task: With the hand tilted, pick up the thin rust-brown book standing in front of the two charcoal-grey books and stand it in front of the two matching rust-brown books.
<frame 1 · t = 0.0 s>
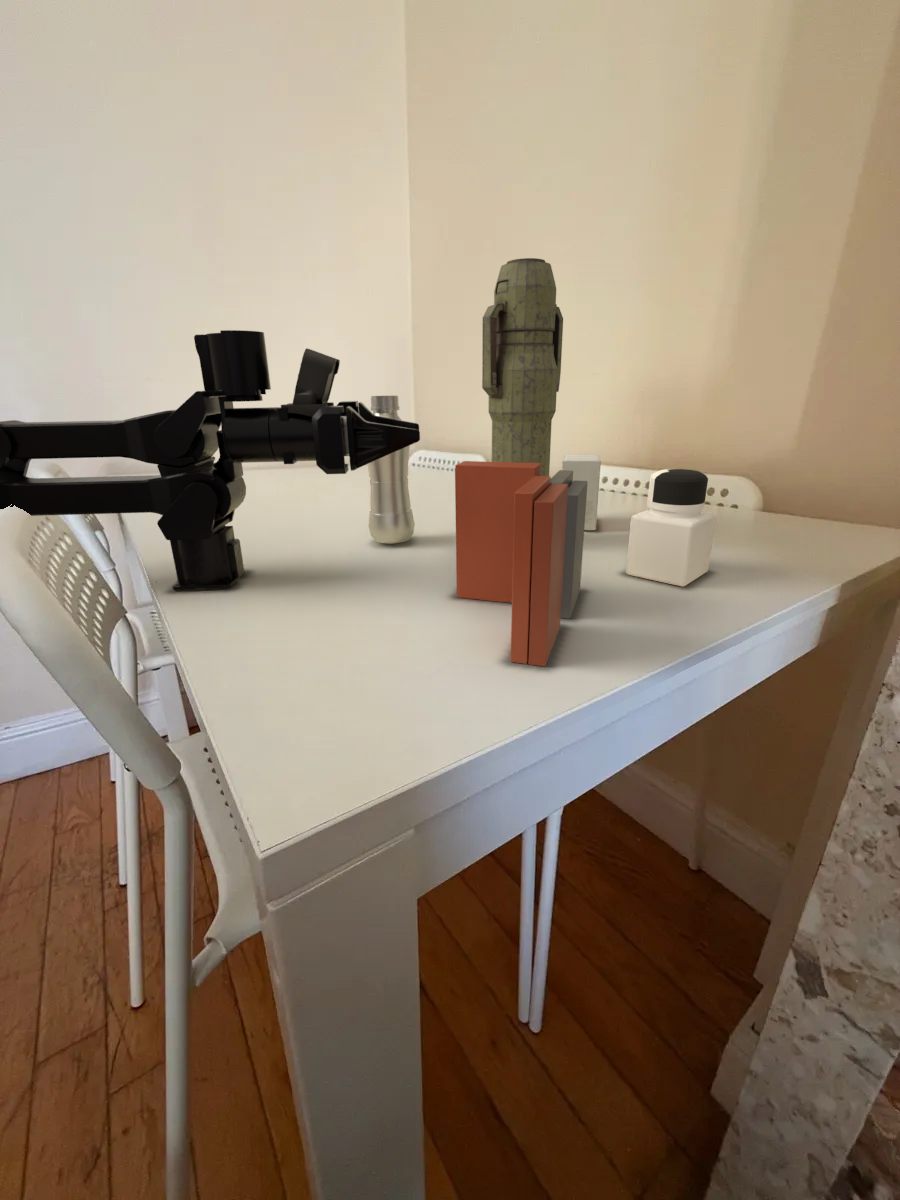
hand: (419, 431, 63), 17 cm above the table, tool horizontal, fingers open, 9 cm apart
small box: (576, 526, 90), on the table
olive green military canister: (517, 543, 82), on the table
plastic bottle: (392, 543, 83), on the table
grey books: (561, 603, 59), on the table
medicine bottle: (666, 575, 67), on the table
rust book: (496, 596, 61), on the table
rust books: (536, 644, 50), on the table
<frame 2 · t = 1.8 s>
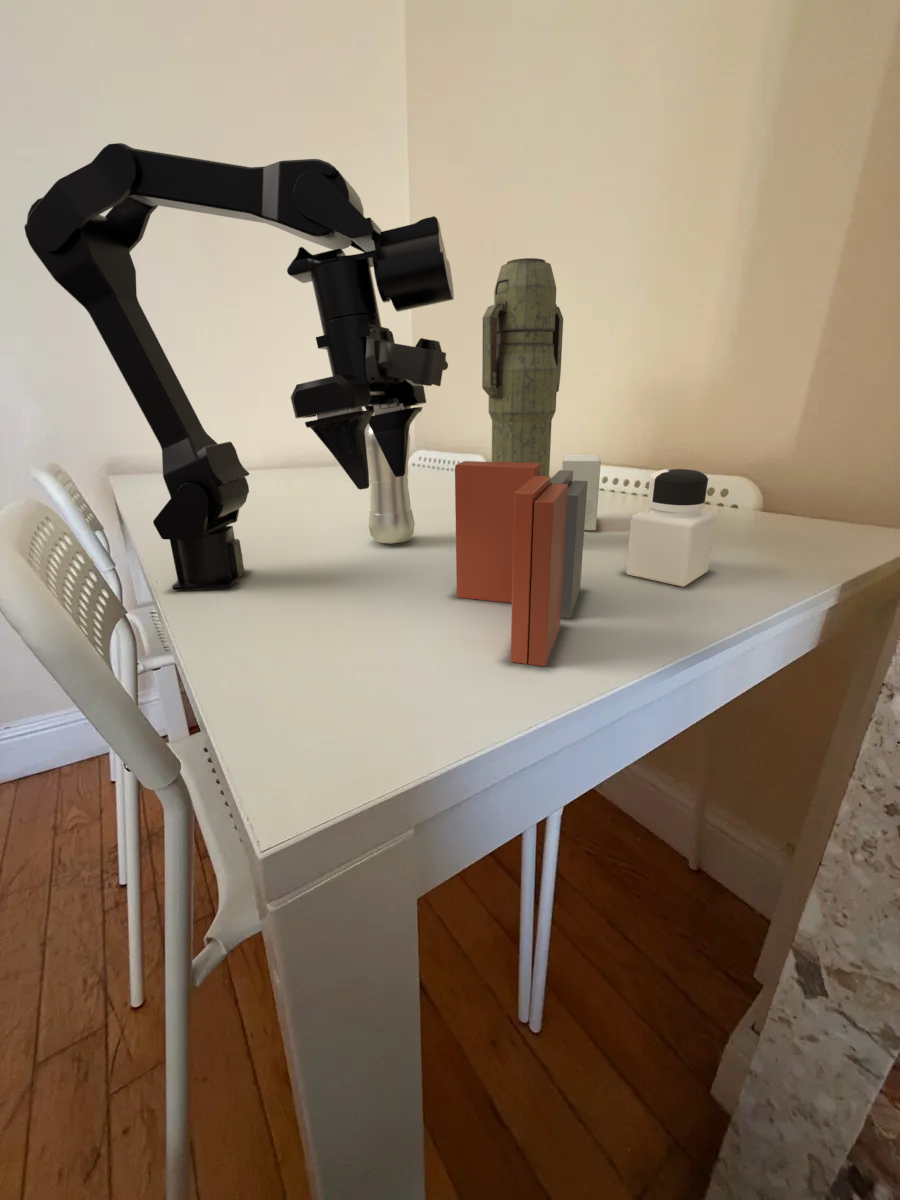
hand: (383, 482, 60), 12 cm above the table, tool pointing down, fingers open, 9 cm apart
nothing on the table moved.
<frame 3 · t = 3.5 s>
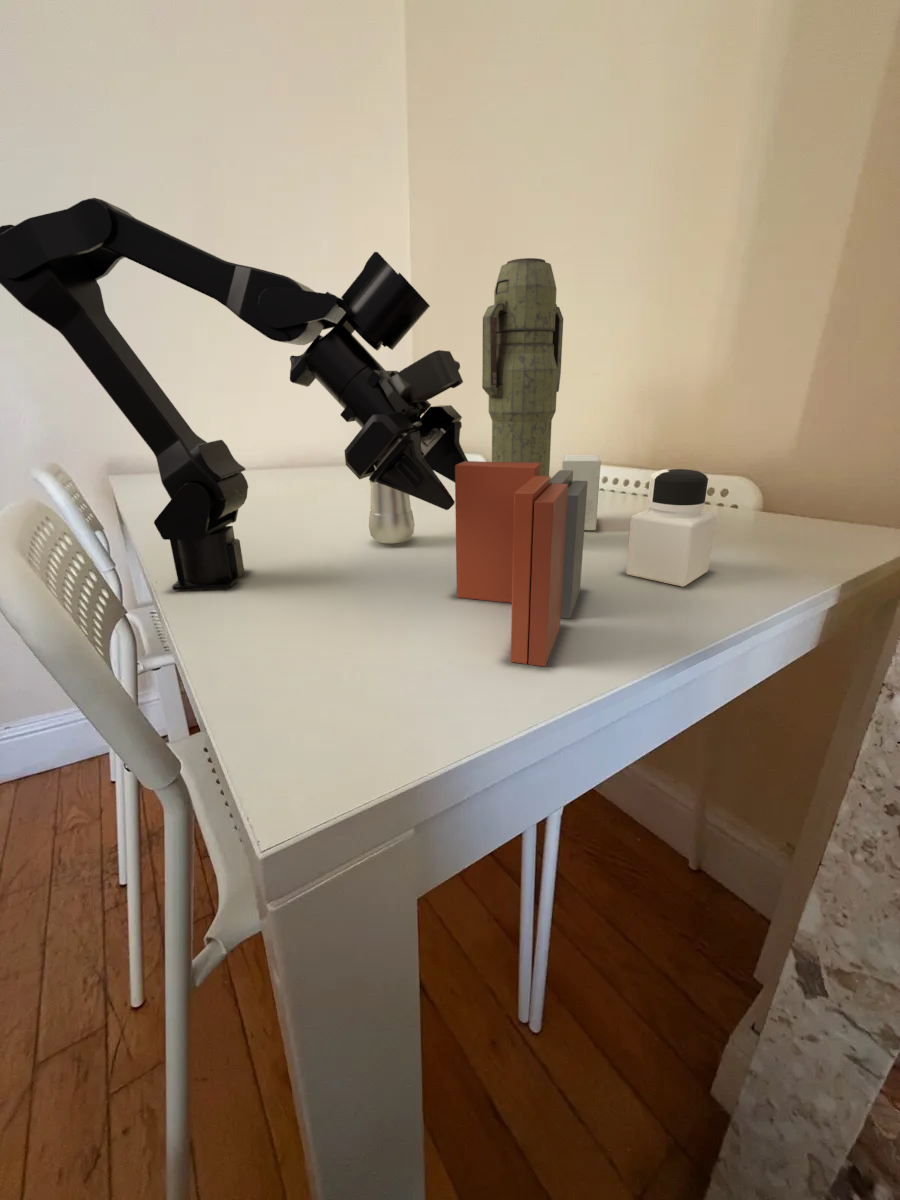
hand: (465, 497, 58), 10 cm above the table, tool tilted 45°, fingers open, 9 cm apart
nothing on the table moved.
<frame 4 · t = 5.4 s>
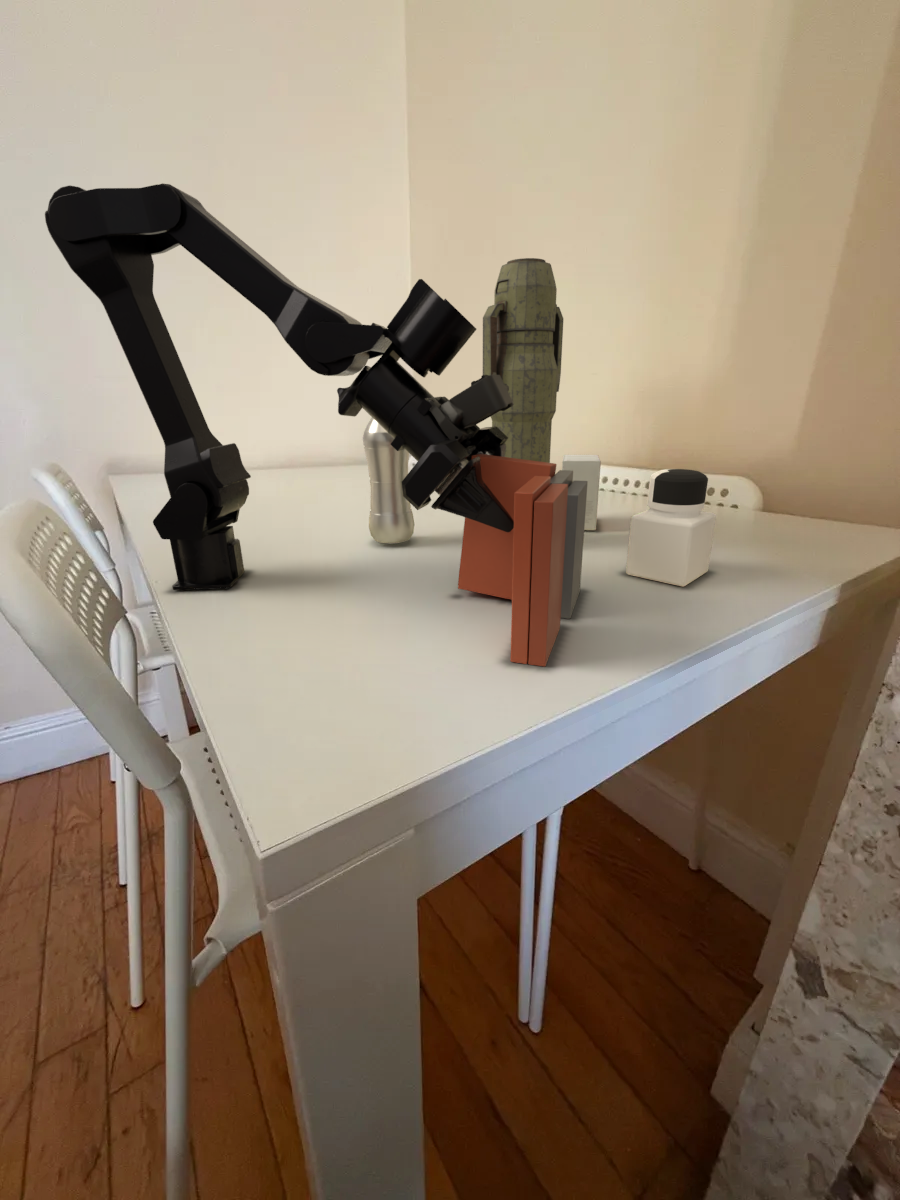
hand: (520, 520, 57), 8 cm above the table, tool tilted 50°, fingers closed on rust book, 6 cm apart
rust book: (497, 592, 61), on the table, tilted 7°, touching gripper
everything else where it was.
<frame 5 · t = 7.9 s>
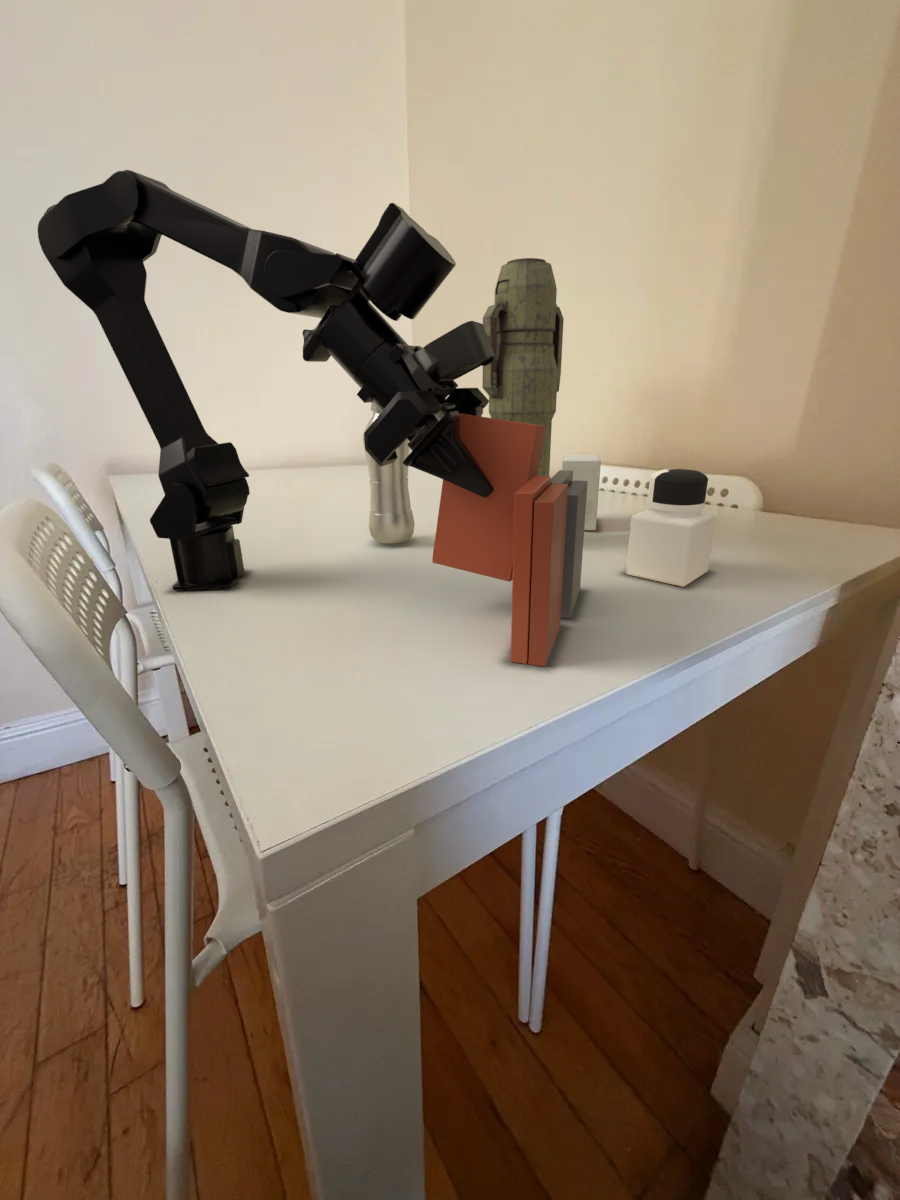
hand: (496, 489, 52), 12 cm above the table, tool tilted 45°, fingers closed on rust book, 4 cm apart
rust book: (475, 569, 55), point 5 cm above the table, tilted 9°, touching gripper
everything else where it was.
when the fingers open (8 cm above the table, at t = 10.3 s): rust book stays where it is, point 1 cm above the table.
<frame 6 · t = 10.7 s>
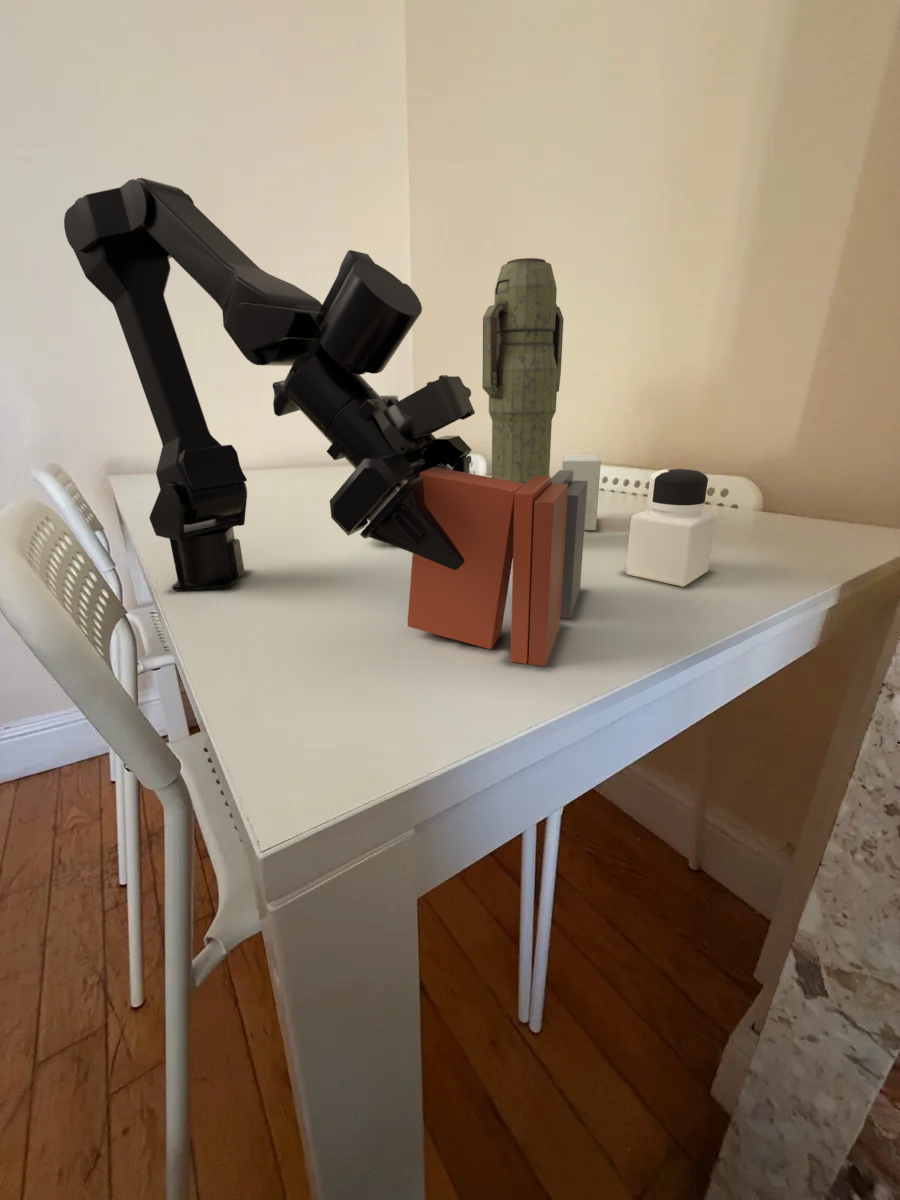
hand: (476, 550, 49), 8 cm above the table, tool tilted 45°, fingers open, 9 cm apart
rust book: (454, 631, 52), point 1 cm above the table, tilted 8°, touching gripper
everything else where it was.
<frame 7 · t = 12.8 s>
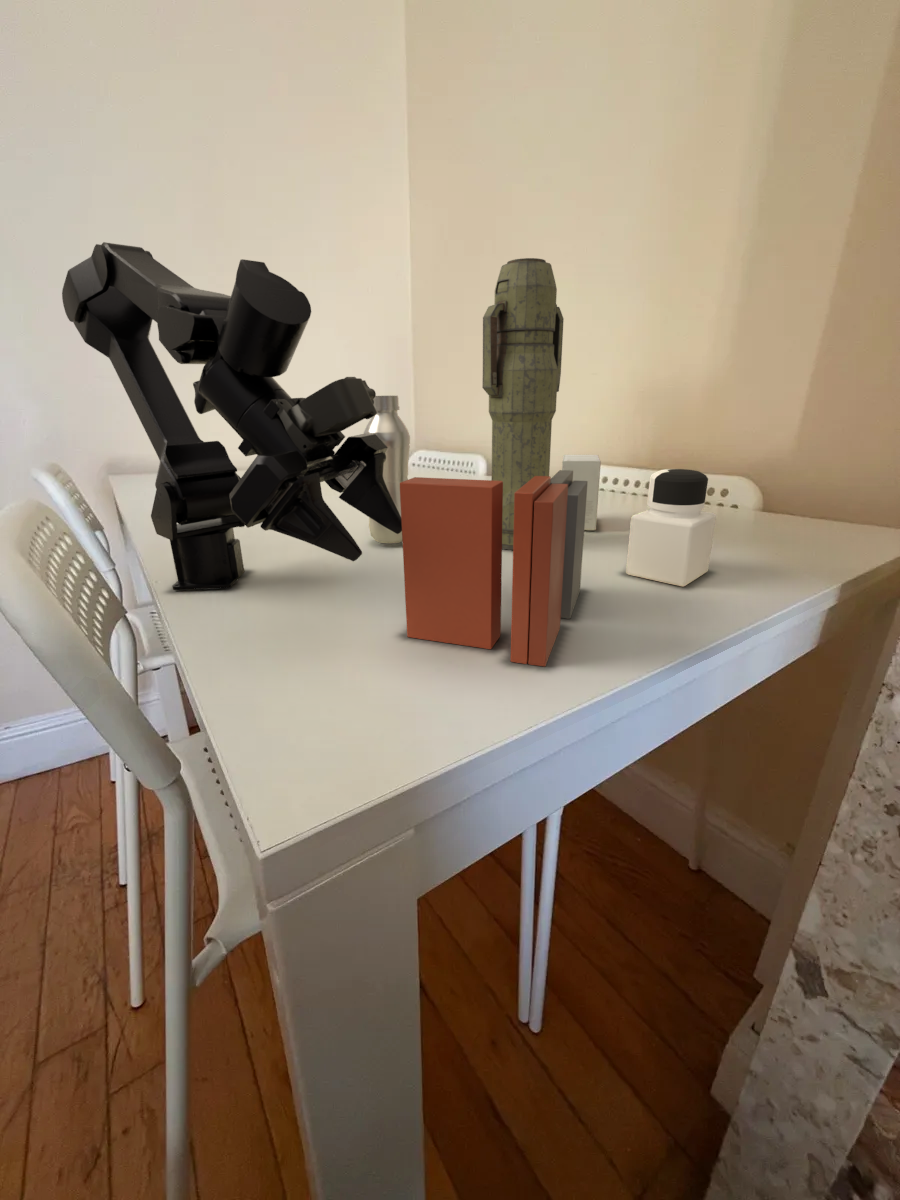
hand: (382, 543, 52), 8 cm above the table, tool tilted 45°, fingers open, 9 cm apart
rust book: (453, 636, 52), on the table
everything else where it was.
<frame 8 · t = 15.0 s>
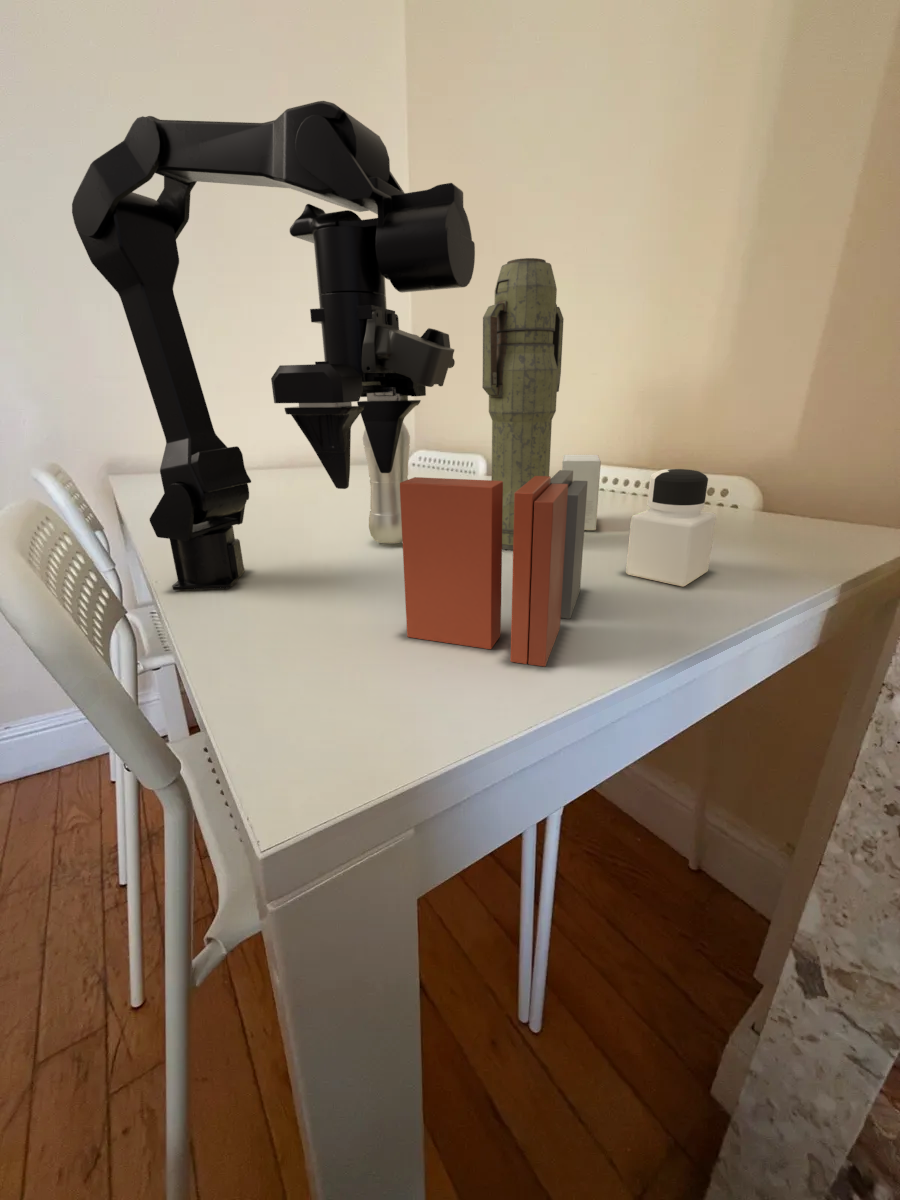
hand: (365, 480, 54), 13 cm above the table, tool pointing down, fingers open, 9 cm apart
nothing on the table moved.
at the end: rust book 0.8 cm from the target spot, on the table; rust book tilted 0°; the gripper is holding nothing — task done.
